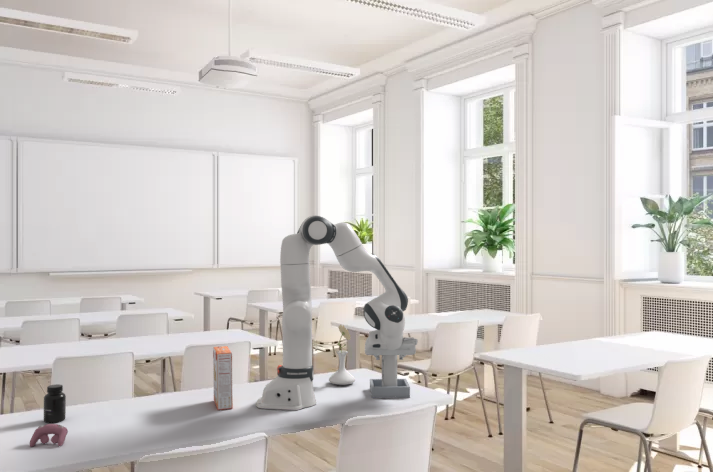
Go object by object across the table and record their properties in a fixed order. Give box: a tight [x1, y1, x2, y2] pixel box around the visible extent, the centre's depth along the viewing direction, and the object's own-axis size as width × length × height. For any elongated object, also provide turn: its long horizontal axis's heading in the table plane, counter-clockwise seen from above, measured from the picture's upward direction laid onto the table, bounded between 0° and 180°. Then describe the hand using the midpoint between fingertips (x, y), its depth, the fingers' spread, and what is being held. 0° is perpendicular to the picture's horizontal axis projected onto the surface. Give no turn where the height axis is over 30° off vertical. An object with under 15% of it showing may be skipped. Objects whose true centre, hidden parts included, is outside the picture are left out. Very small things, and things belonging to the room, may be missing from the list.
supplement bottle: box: [43, 384, 67, 424], centre depth 213 cm, size 7×7×12 cm
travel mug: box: [381, 355, 398, 387], centre depth 249 cm, size 6×7×20 cm
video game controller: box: [29, 423, 69, 448], centre depth 190 cm, size 10×5×7 cm, turn 92°
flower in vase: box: [328, 324, 356, 386], centre depth 266 cm, size 13×11×25 cm
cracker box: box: [212, 345, 234, 411], centre depth 233 cm, size 14×6×21 cm, turn 18°
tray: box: [369, 378, 411, 399], centre depth 250 cm, size 15×14×4 cm
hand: (389, 358), depth 250 cm, fingers open, 8 cm apart
